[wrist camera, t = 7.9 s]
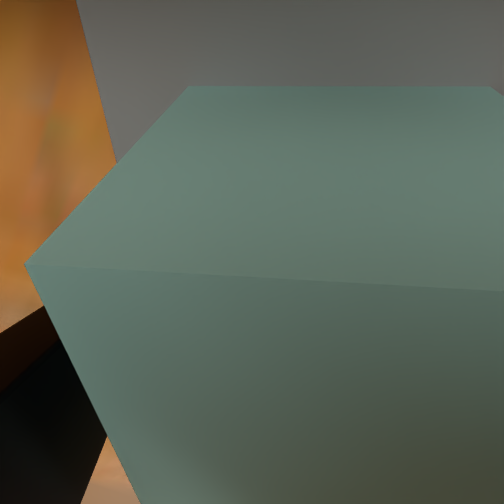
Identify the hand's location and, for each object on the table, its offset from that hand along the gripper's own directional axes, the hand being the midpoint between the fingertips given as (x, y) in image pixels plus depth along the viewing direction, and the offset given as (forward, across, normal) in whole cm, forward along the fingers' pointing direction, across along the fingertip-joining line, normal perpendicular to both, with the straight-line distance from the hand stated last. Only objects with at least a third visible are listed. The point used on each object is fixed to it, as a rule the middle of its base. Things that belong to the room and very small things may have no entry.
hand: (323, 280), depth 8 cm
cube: (+2, 0, 0) cm, 2 cm away
